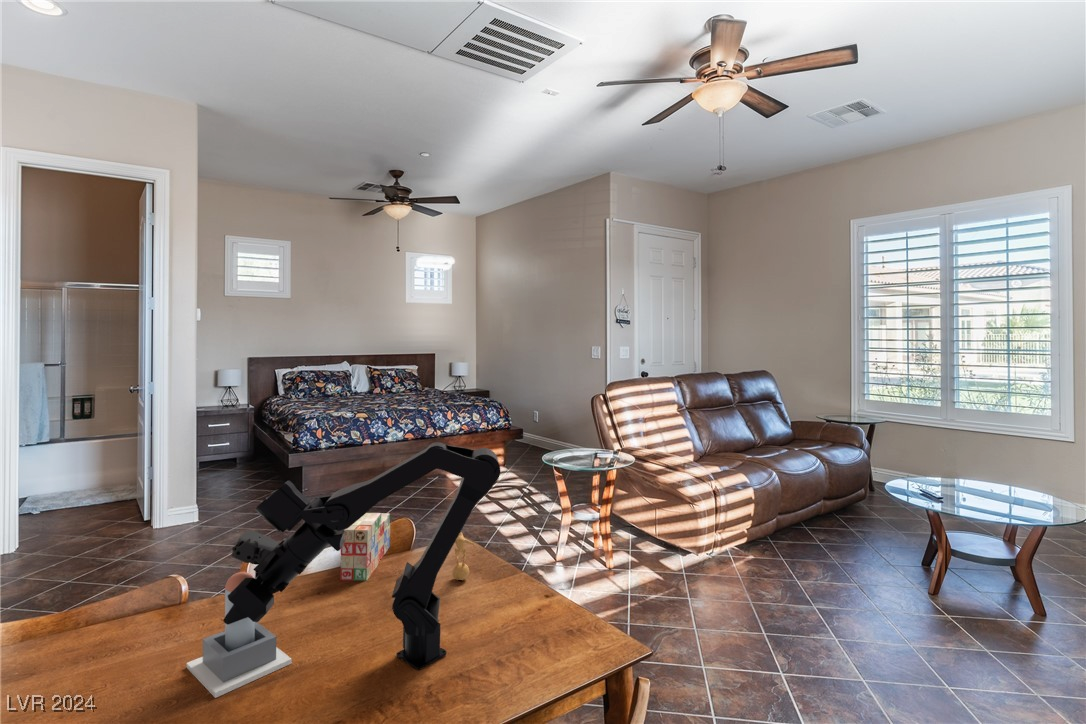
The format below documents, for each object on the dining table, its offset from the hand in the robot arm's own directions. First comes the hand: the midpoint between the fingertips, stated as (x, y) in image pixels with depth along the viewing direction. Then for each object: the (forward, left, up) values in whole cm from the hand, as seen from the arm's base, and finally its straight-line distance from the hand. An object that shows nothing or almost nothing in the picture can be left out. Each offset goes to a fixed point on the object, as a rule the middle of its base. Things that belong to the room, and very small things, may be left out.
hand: (231, 615), depth 92 cm
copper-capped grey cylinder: (-1, -1, -7) cm, 7 cm away
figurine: (-5, -48, -9) cm, 49 cm away
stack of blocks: (+21, -40, -9) cm, 46 cm away
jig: (-1, -1, -9) cm, 9 cm away
